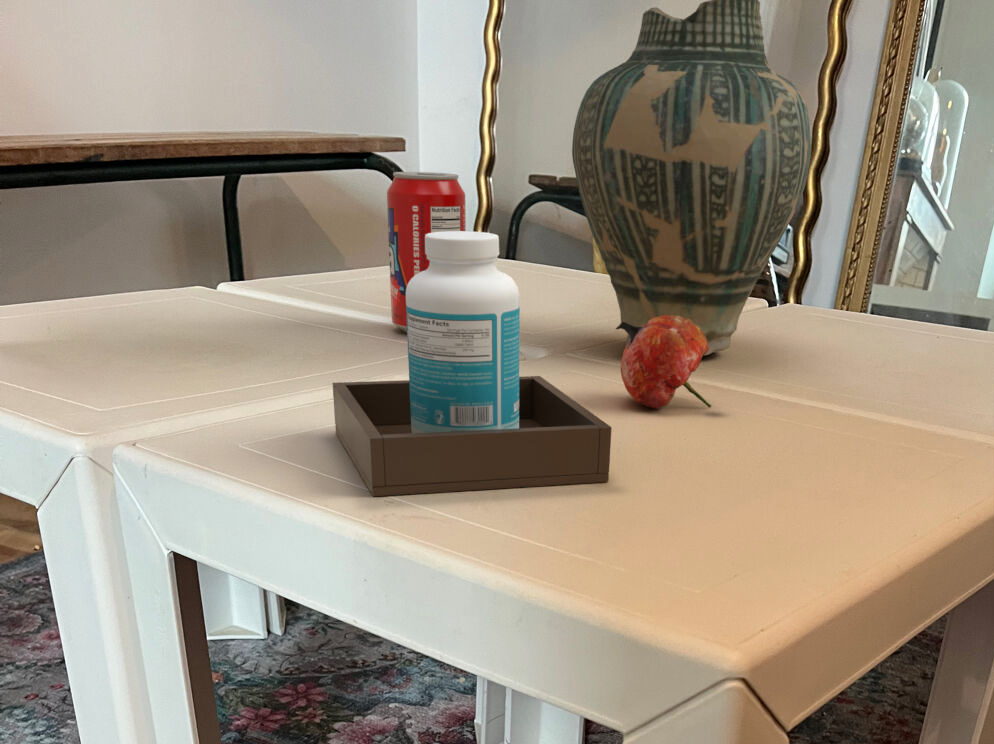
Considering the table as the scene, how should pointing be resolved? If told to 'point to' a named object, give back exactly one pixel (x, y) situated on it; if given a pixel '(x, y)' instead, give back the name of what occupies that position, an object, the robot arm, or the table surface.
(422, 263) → the soda can
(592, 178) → the vase
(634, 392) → the red lumpy rounded piece
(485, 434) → the holder
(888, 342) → the table surface
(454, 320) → the pill bottle
